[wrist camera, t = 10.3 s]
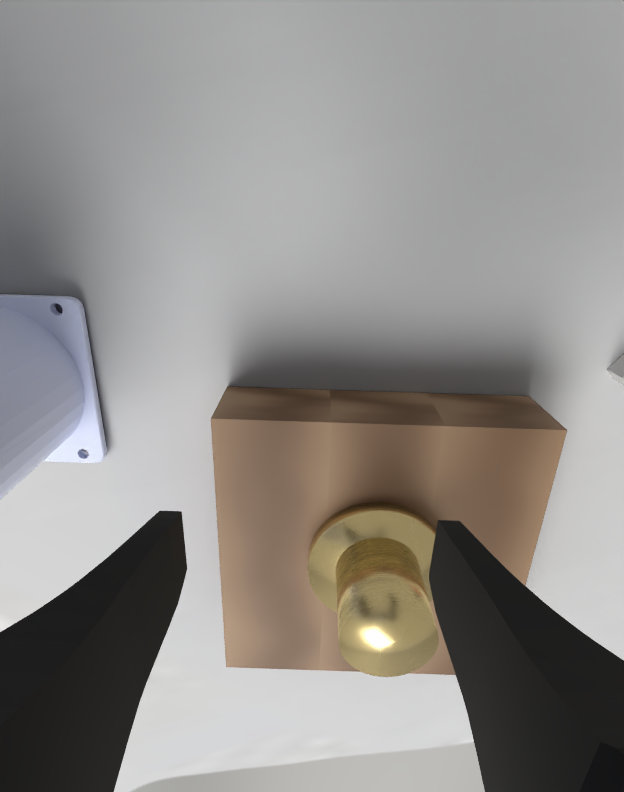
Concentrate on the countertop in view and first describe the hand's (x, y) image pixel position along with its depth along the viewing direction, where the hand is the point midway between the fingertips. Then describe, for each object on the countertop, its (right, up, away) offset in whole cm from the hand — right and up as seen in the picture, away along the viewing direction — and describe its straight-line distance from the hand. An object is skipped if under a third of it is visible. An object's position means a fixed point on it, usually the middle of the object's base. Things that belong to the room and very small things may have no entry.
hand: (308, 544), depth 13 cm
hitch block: (+3, -2, +11) cm, 12 cm away
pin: (+3, -2, +10) cm, 11 cm away
